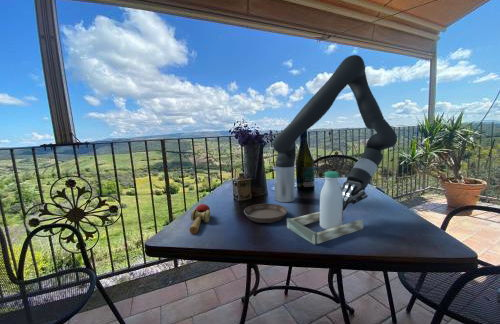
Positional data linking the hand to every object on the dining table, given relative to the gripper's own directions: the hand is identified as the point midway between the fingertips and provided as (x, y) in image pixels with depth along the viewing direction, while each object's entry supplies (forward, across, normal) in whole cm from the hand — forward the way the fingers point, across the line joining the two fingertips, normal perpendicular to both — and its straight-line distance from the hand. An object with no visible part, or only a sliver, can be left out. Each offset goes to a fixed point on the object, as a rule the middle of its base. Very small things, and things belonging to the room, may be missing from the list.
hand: (339, 210), depth 83 cm
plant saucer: (+17, -21, -9) cm, 29 cm away
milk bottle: (+7, 0, +1) cm, 7 cm away
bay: (+9, 0, -1) cm, 9 cm away
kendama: (+35, -28, -28) cm, 53 cm away
